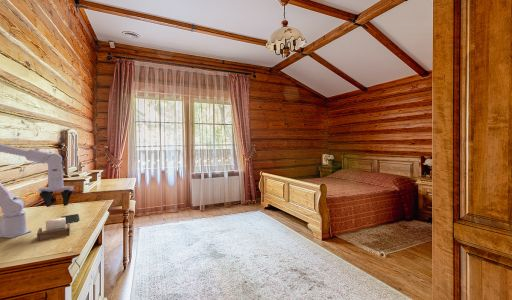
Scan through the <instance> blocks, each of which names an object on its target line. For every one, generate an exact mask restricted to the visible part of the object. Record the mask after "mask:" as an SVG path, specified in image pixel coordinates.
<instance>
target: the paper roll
mask: <svg viewBox="0 0 512 300" xmlns="http://www.w3.org/2000/svg"><path fill="white" fill-rule="evenodd" d="M65 228H67V224H66V219H65V217H64V218H61V217H58V218H52V219H47V220H45V230H46V231H45V232H48V231H54V230H60V229H65Z"/></svg>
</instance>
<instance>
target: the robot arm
mask: <svg viewBox="0 0 512 300" xmlns="http://www.w3.org/2000/svg"><path fill="white" fill-rule="evenodd" d="M0 153H5V154H9V155H13V156H14V155H15V156H21V157H24V158H25V160H27V161H30V162H34V163H39V164H43V165H44V164H47V182H48V184H47V186H48V187H40V188H38V193H39V196H40V197H41V198H42V200H43V202H44V203H45V206H46V208H49V207H51V206H52V194H53V192H60V194H61V196H62V204H63V207H66V206H68V205H69V201H70V198H71V196H72V194H73V192H74V190H75V189H74V185H73V186H72V185H65V186H64V171H63V170H64V169H63V157H62V155H60V154H59V153H53V152H52V151H44V150H42V149H41V150H40V148H38V147H36V148H30V149H23V148H20V147H16V146H12V145H8V144H5V143H4V144H3V143H0ZM25 207H26V202H25V201H24V200H23V199H21V198H18V197H17V196H16V195H14V194H13V193H11V192H10V191H9V190H8V188H7V187H5V186H4V184H3V183H2V182H1V181H0V208H1V212H2V214H3V215H2V216H1V217H0V238H5V239H6V238H9V239H13V238H15V237H18V236H19V237H20V236H21V235H25V234H28V233H31V232H32V230H30V229H27V221H26V211H24V209H25Z"/></svg>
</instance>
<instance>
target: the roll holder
mask: <svg viewBox="0 0 512 300" xmlns="http://www.w3.org/2000/svg"><path fill="white" fill-rule="evenodd" d="M70 224H71V223H67V224H66V228H62V229H56V230H51V231H44V232H43V228H42V227H39V228H38V230H37V233H36V235H37V242H39V241H46V240H50V239H54V238H55V239H56V238H61V237H65V236H70V232H71V228H70V227H71V226H70Z"/></svg>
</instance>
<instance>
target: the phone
mask: <svg viewBox="0 0 512 300" xmlns="http://www.w3.org/2000/svg"><path fill="white" fill-rule="evenodd" d="M64 217H65V219H66V225H67V223H70V224H72V223H73V222H74V223H78V221H79V222H80V215H79V214H78V213H76V214H75V213H74V214H69V215H63V216H60V218H64ZM74 223H73V224H74Z"/></svg>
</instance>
